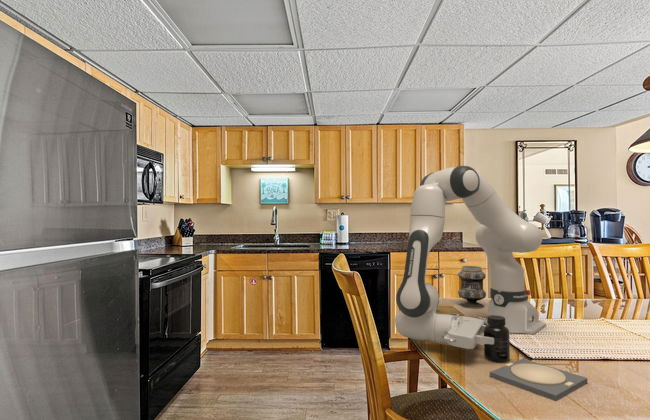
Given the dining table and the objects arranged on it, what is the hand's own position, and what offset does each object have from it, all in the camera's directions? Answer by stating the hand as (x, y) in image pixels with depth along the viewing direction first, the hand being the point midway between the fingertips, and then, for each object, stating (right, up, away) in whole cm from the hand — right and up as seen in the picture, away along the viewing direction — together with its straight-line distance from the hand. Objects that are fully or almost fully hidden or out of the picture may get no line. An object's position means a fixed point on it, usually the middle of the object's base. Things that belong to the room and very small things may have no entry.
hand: (496, 336), depth 111 cm
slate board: (+4, -6, -15) cm, 16 cm away
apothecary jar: (+18, -8, +66) cm, 68 cm away
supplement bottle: (0, -7, 0) cm, 7 cm away
